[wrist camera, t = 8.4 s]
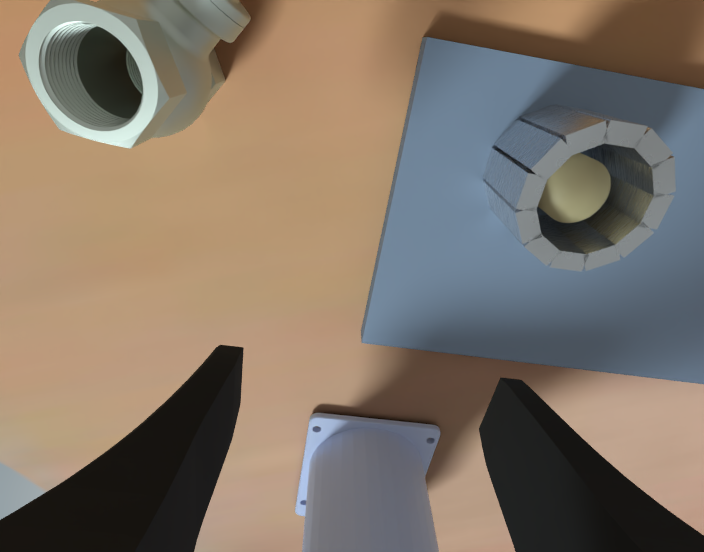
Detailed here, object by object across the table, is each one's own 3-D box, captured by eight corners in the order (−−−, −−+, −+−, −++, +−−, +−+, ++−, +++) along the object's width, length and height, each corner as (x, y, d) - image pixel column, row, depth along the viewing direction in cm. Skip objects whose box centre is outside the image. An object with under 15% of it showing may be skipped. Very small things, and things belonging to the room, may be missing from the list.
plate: (763, 380, 25) (830, 435, 22) (360, 331, 23) (364, 382, 20) (957, 138, 19) (1098, 159, 15) (422, 37, 17) (443, 35, 13)
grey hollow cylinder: (579, 236, 20) (631, 278, 16) (469, 220, 19) (498, 260, 16) (631, 117, 17) (705, 135, 14) (506, 96, 17) (550, 110, 13)
